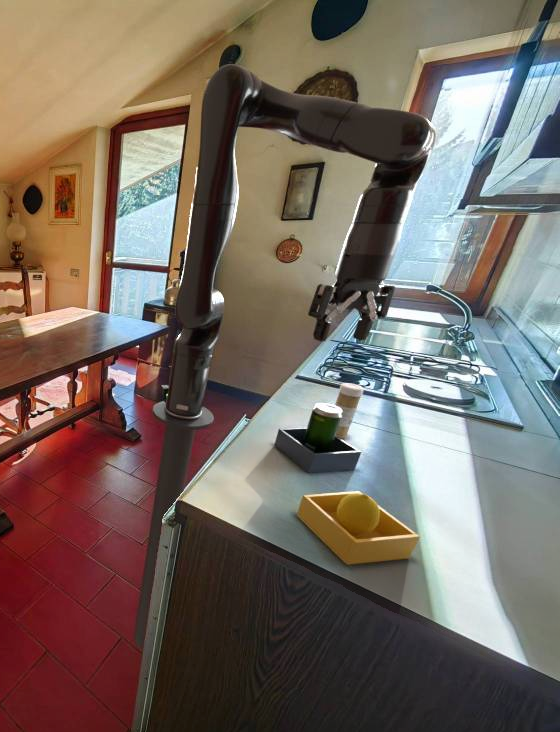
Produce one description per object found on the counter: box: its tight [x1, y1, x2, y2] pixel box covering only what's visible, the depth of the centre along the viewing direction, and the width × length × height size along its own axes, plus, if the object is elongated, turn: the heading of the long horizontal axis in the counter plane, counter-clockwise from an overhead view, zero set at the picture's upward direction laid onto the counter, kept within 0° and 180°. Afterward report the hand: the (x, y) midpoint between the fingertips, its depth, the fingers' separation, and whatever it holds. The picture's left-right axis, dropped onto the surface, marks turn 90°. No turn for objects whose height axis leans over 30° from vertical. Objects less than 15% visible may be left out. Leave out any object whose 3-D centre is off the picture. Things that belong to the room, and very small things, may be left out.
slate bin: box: [273, 426, 362, 474], centre depth 88 cm, size 11×11×5 cm
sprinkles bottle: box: [334, 382, 365, 439], centre depth 97 cm, size 5×5×13 cm
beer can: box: [302, 402, 342, 453], centre depth 87 cm, size 5×5×12 cm
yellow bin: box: [296, 490, 421, 565], centre depth 66 cm, size 11×11×5 cm
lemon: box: [337, 492, 380, 534], centre depth 65 cm, size 6×6×8 cm
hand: (339, 339), depth 75 cm, fingers open, 8 cm apart
